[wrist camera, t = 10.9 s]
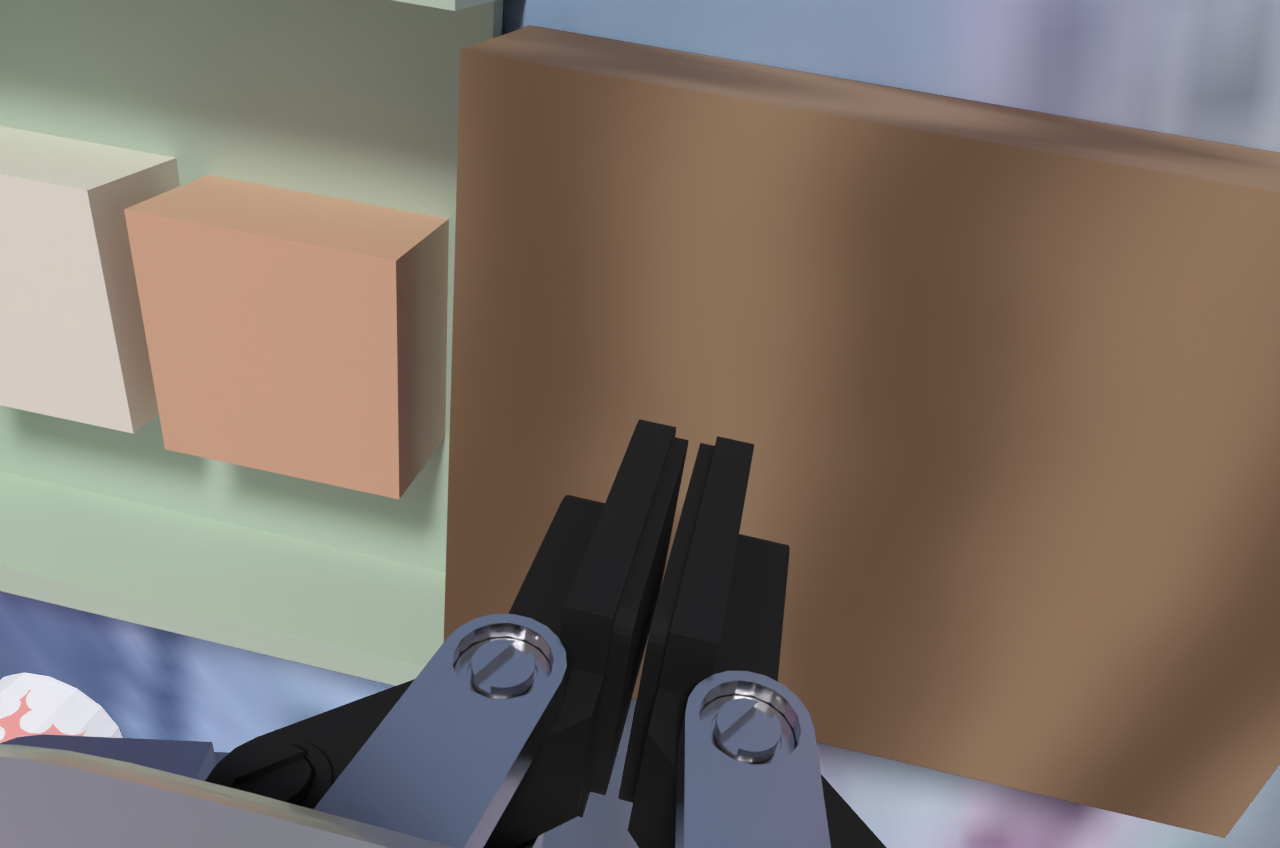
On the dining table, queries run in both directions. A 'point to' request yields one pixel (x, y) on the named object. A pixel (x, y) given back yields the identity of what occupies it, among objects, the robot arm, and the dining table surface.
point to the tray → (139, 463)
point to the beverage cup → (49, 709)
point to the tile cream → (74, 279)
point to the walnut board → (898, 397)
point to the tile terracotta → (295, 330)
